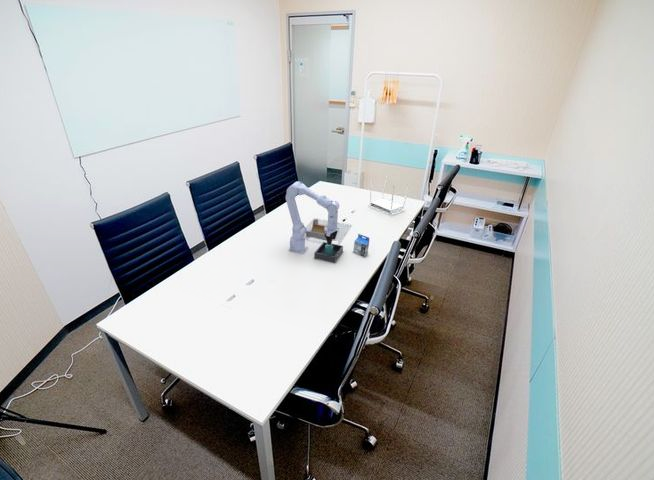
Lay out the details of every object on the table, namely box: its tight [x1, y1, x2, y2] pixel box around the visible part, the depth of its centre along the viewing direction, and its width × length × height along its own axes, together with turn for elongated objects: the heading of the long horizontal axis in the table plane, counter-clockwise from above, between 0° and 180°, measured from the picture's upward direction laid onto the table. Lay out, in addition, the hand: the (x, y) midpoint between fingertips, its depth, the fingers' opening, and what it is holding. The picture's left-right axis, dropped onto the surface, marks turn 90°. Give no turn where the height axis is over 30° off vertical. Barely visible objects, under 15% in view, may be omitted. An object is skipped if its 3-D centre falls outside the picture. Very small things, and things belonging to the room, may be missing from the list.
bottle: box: [325, 242, 333, 256], centre depth 210 cm, size 5×5×9 cm
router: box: [368, 174, 411, 217], centre depth 271 cm, size 19×25×24 cm
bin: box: [313, 241, 344, 264], centre depth 211 cm, size 14×16×4 cm
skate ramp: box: [305, 217, 351, 242], centre depth 239 cm, size 29×35×8 cm
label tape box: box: [352, 233, 370, 258], centre depth 211 cm, size 9×4×12 cm, turn 47°
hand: (331, 241), depth 206 cm, fingers open, 7 cm apart
